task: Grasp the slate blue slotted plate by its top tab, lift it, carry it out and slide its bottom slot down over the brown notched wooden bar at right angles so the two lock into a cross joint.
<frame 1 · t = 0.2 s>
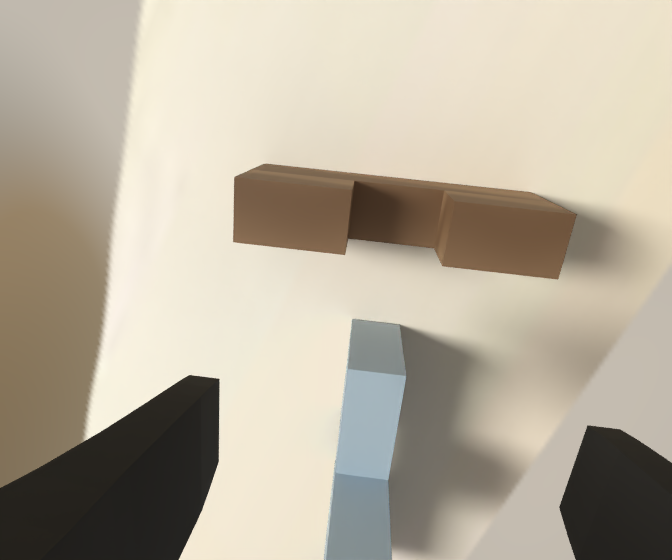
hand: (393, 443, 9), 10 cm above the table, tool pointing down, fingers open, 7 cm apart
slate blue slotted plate: (359, 437, 21), on the table
brown notched wooden bar: (392, 204, 17), on the table
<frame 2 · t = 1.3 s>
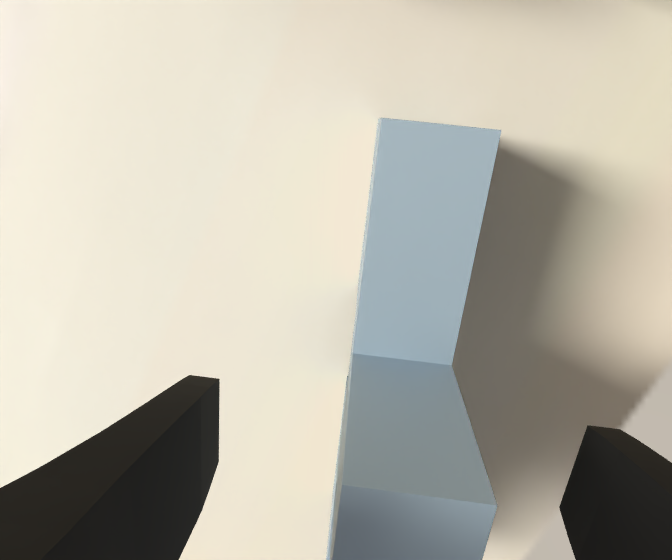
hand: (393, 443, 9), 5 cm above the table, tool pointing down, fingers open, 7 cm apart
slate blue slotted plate: (386, 336, 13), on the table
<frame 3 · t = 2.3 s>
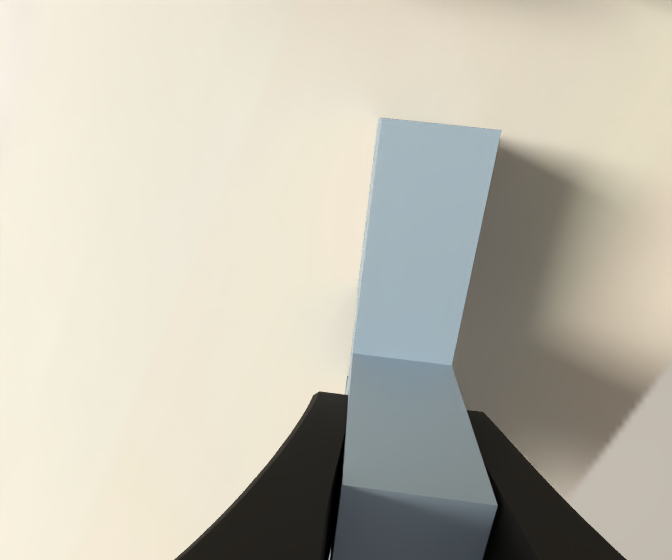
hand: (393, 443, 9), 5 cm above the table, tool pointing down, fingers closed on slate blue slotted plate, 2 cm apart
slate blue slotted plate: (386, 336, 13), on the table, touching gripper
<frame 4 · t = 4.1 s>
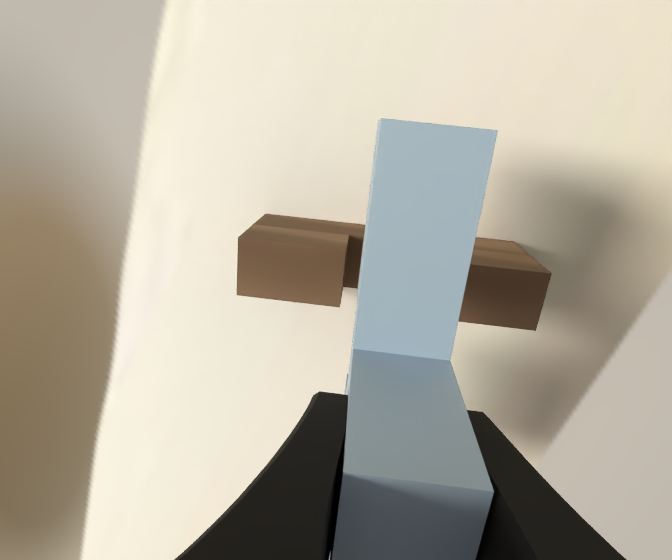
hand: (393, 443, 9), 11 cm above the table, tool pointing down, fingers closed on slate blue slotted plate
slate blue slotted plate: (385, 334, 14), point 6 cm above the table, touching gripper
brown notched wooden bar: (384, 251, 18), on the table
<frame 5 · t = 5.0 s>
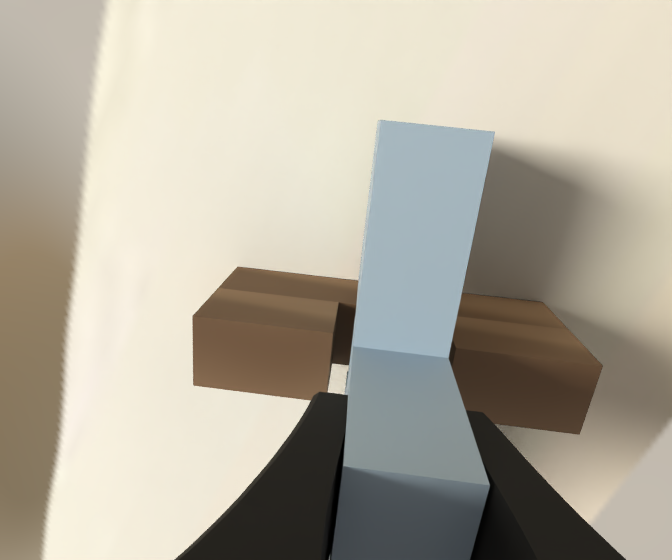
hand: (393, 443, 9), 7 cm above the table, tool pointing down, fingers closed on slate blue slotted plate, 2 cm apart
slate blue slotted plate: (385, 332, 14), point 1 cm above the table, touching gripper
brown notched wooden bar: (384, 312, 15), on the table
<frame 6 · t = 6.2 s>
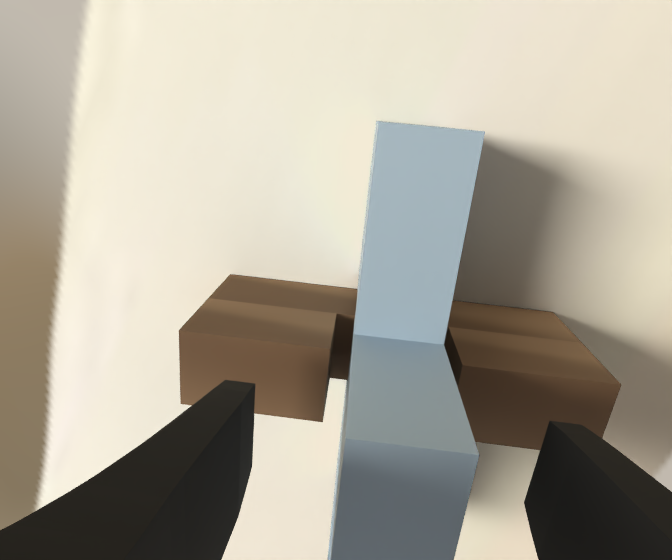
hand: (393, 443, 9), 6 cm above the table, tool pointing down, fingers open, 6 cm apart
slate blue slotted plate: (385, 323, 14), on the table, touching brown notched wooden bar
brown notched wooden bar: (385, 322, 14), on the table
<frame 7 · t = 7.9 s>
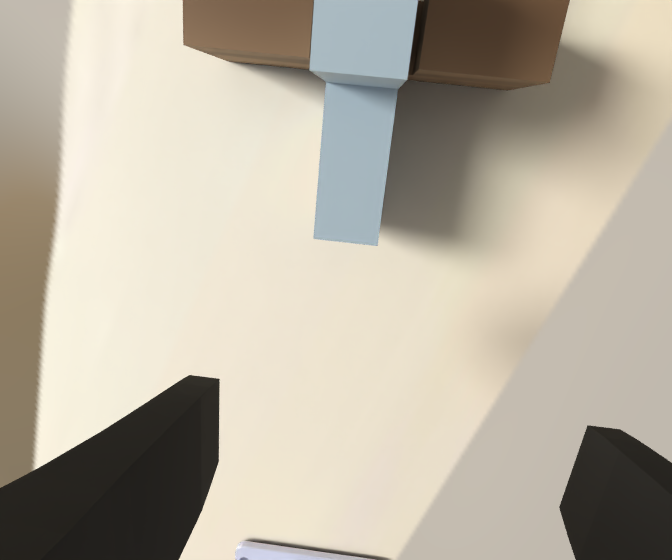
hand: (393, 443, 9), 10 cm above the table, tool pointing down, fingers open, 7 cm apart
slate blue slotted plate: (369, 45, 16), on the table, touching brown notched wooden bar
brown notched wooden bar: (369, 44, 16), on the table
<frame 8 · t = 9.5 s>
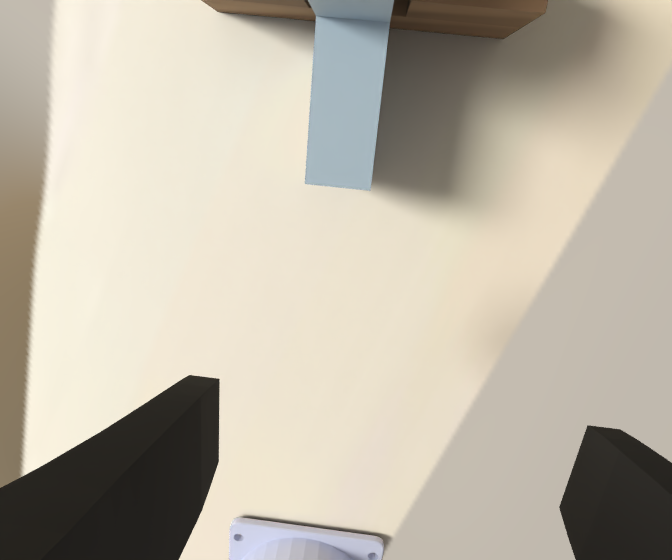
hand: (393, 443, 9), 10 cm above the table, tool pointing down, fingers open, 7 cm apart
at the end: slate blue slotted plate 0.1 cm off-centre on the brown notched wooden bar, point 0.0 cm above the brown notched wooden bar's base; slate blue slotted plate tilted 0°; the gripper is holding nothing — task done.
